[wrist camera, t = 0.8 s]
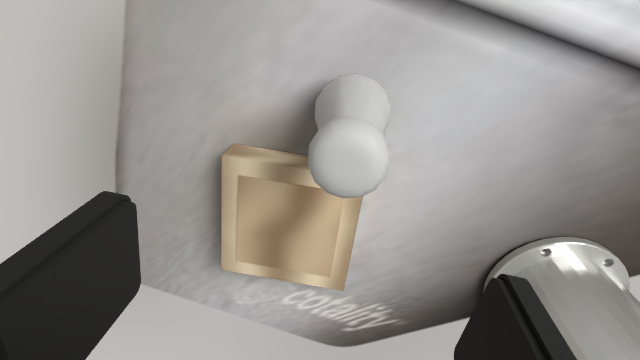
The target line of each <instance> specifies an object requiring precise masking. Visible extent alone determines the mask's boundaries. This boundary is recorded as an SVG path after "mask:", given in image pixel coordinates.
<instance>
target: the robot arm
mask: <svg viewBox="0 0 640 360" xmlns="http://www.w3.org/2000/svg"><path fill="white" fill-rule="evenodd" d="M140 284H141V274H140V258H139V242H138V226H137V210H136V205H135V203H133V202H131V199H130V198H129V196H127V195H122V194H118V193H113V192H108V191H103V192H101V193H100V194H98V195H97V196H95V197H94V198H93V199H91V200H90V201H88V202H87V203H85V204H84V205H83V206H81V207H80V208H78V209H77V210H76V211H74V212H73V213H71V214H70V215H69V216H68V217H66V218H64V219H63V220H61V221H60V222H59V223H57V224H56V225H55V226H53V227H52V228H50V229H49V230H47V231H46V232H45V233H43V234H42V235H40V236H39V237H38V238H36V239H35V240H34V241H32V242H31V243H29V244H28V245H26V246H25V247H24V248H22V249H21V250H19V251H18V252H16V253H15V254H14V255H12V256H11V257H9V258H8V259H7V260H5V261H4V262H2V263H1V264H0V360H85V359H86V358H87V357H88V355H89V354H90V352H91V351H92V350H93V349H94V348H95V346H96V345H97V344H98V343H99V341H100V340H101V339H102V337H103V336H104V335H105V334H106V332H107V331H108V330H109V328H110V327H111V326H112V325H113V323H114V322H115V321H116V319H117V318H118V317H119V316H120V314H121V313H122V312H123V311H124V309H125V308H126V307H127V305H128V304H129V303H130V302H131V300H132V299H133V298H134V297H135V295H136V294H137V292H138V290H139V287H140ZM629 288H630V282H629V275H628V273H627V271H626V268H625V266H624V265H623V264H622V263H621V261H620V260H619V259H618V258H617V257H616V256H615V255H614V254H613V253H612V252H610V251H609V250H608V249H607V248H605V247H603V246H601V245H600V244H598V243H595V242H592V241H589V240H586V239H581V238H575V237H555V238H548V239H542V240H539V241H535V242H532V243H529V244H527V245H524V246H522V247H520V248H518V249H516V250H514V251H513V252H511V253H509V254H508V255H506V256H505V257H504V258H503V259H502V260H501V261H499V262H498V263H497V264H496V265H495V267H494V268H493V269H492V271H491V272H490V273H489V275H488V277H487V279H486V281H485V284H484V289H483V294H482V296H481V298H480V300H479V302H478V304H477V306H476V308H475V310H474V312H473V314H472V316H471V318H470V319H469V321H468V323H467V325H466V327H465V329H464V331H463V333H462V335H461V337H460V339H459V341H458V343H457V345H456V347H455V351H454V360H640V302H639V301H638V300H637V299H636V298H635V297H634V296H633V295H632V294H631V293H630V292H629Z"/></svg>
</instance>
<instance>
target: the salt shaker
mask: <svg viewBox="0 0 640 360" xmlns="http://www.w3.org/2000/svg"><path fill="white" fill-rule="evenodd" d="M390 113H391V107H390V104H389V101H388V97H387V94H386V92H385V91H384V90H383V89H382V88H381V87H380V86H379V85H378V84H377V83H376V82H375V81H374V80H373V79H370V78H367V77H364V76H362V75H359V74H353V75H345V76H339V77H337V78H336V79H334V80H333V81H331V82H330V83H328V84H327V85H325V86H324V88H323V90H322V91H321V93H320V95H319V96H318V98H317V99H316V102H315V121H316V124H317V128H318V132H317V133H316V135H315V136H314V138H313V139H312V141H311V143H310V144H309V153H308V167H309V170H310V172H311V175H312V177H313V180H314V182H315V183H316V184H317V185H318V186H320V187H321V188H322V189H323V190H324V191H325V192H326V193H328V194H331V195H334V196H337V197H340V198H343V199H345V198H357V197H362V196H364V195H366V194H368V193H370V192H372V191H374V190H375V189H376V188H377V187H378V185H379V184H380V183H381V181H382V180H383V179H384V177H385V176H386V173H387V168H388V163H389V158H390V153H389V150H388V147H387V144H386V141H385V138H384V133H385V131H386V129H387V127H388V124H389V118H390Z"/></svg>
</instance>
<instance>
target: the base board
mask: <svg viewBox="0 0 640 360" xmlns="http://www.w3.org/2000/svg"><path fill="white" fill-rule="evenodd" d="M362 198H363V196H362V197H357V198H345V199H343V198H340V197H337V196H334V195H331V194H328V193H326V192H325V191H324V190H323V189H322V188H321V187H320V186H318V185H317V184H316V183H315V182H314V180H313V177H312V175H311V172H310V170H309V167H308V155H302V154H296V153H289V152H283V151H277V150H270V149H264V148H257V147H251V146H245V145H238V144H233V145H232V146H231V147H230V148H229V149H228V150H227V151H226V152H225V153H224V154H223V155H222V213H221V270H226V271H231V272H237V273H243V274H249V275H255V276H260V277H266V278H272V279H278V280H284V281H289V282H295V283H301V284H307V285H312V286H318V287H324V288H330V289H336V290H341V291H344V287H345V282H346V277H347V272H348V267H349V262H350V257H351V252H352V247H353V242H354V238H355V233H356V228H357V223H358V218H359V213H360V208H361V203H362Z"/></svg>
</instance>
